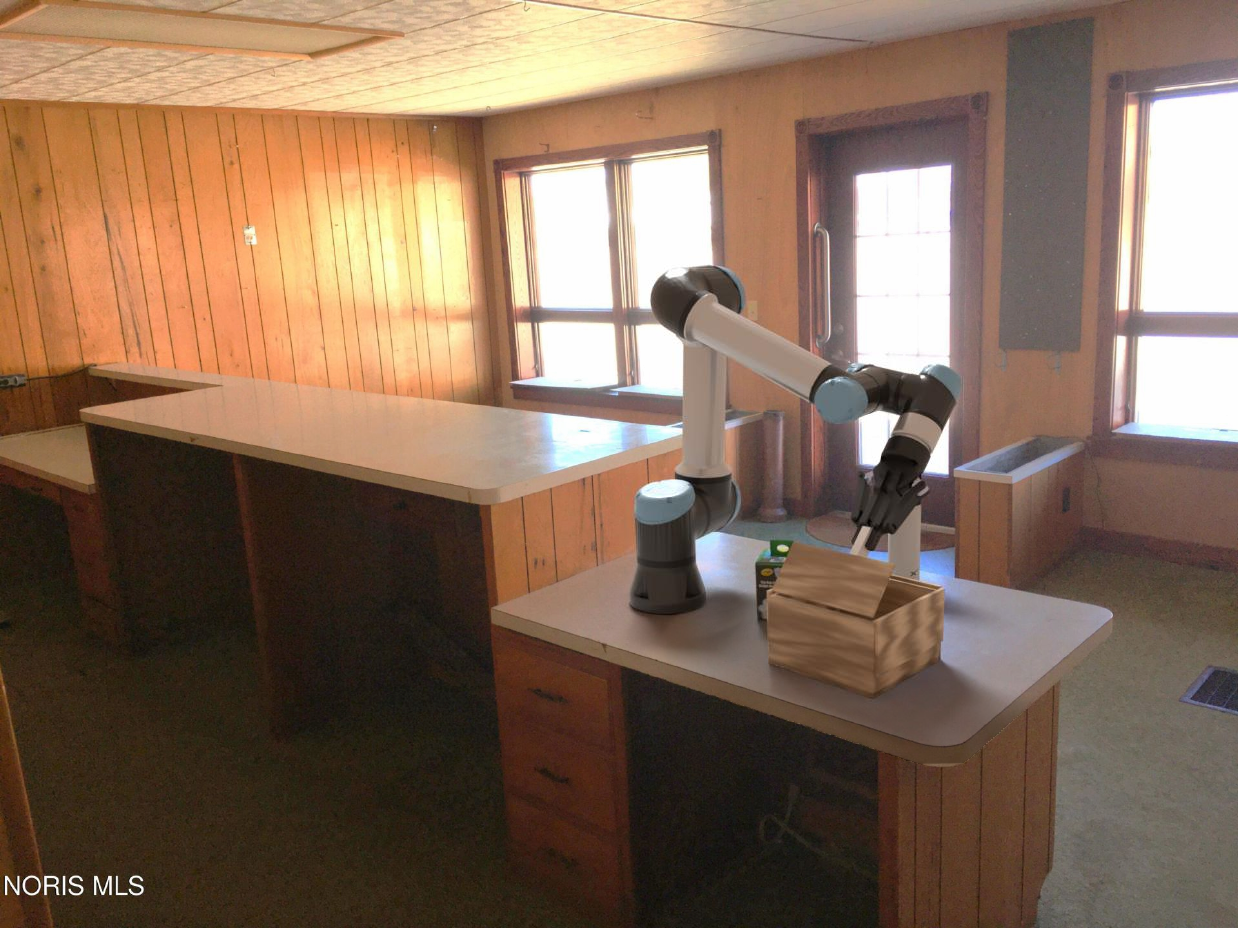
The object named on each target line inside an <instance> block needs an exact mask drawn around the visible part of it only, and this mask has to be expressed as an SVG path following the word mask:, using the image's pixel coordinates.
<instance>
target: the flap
mask: <svg viewBox="0 0 1238 928" xmlns="http://www.w3.org/2000/svg"><path fill="white" fill-rule="evenodd" d="M894 566H895V565H894V564H893V563H889V562H888V561H883V560H880V559H879V560H878V559H875V558H871V557H870V558H869V557H867V558H866V557H861V556H857V555H852V554H849V553H847V552H842V551H838V550H833V549H829V548H825V547H820V546H816V545H812V544H811V545H810V544H807V543H802V542H799V541H798V542H797V541H795V540H793V544H792V546H791V548H790V550H789V553H788V555H787V557H786V559H785V562H784V564H783V566H782V568H781V571H780V573H779V575H778V577H777V580H776V582H775V584H774V586H773V589H772V590H773V591H774V592H778V593H782V594H785V595H789V596H793V597H796V598H800V599H804V600H808V601H811V602H815V603H819V604H822V605H826V606H830V607H833V608H837V609H841V610H844V611H848V612H852V613H856V614H859V615H863V616H867V617H870V618H873V617H874V615H875V613H876V610H877V608H878V605H879V603H880V600H881V598H882V596H883V593H884V591H885V588H886V586H887V583H888V581H889V578H890V576H891V574H892V571H893V569H894Z"/></svg>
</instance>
